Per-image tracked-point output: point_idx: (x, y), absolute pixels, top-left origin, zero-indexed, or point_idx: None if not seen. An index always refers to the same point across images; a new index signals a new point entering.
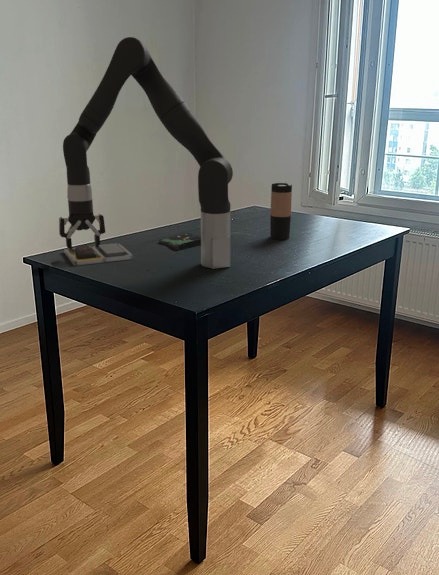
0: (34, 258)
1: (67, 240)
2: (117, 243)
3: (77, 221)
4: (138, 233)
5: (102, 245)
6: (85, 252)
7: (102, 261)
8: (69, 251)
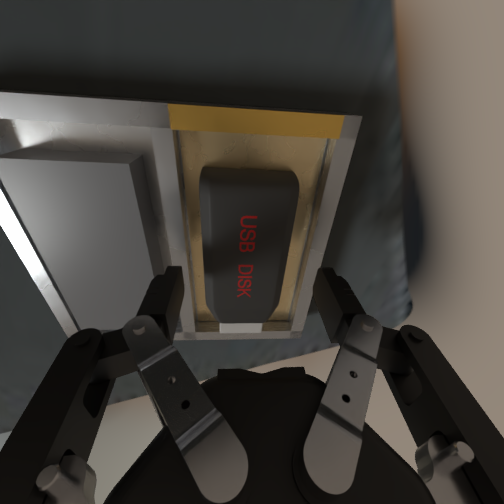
0: (389, 318)
1: (359, 310)
2: None
3: (351, 474)
4: None
5: None
6: (260, 212)
7: (175, 102)
8: (282, 323)
